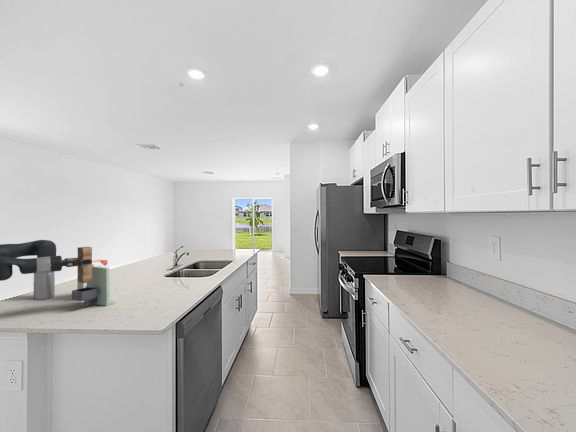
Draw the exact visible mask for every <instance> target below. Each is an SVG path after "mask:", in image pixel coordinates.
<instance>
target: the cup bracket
mask: <svg viewBox="0 0 576 432" xmlns="http://www.w3.org/2000/svg"><path fill="white" fill-rule="evenodd" d="M71 300H74V301H77V302H84V306H85V307H86V306H90V305H93V304H94V305H97V306H98V305H99V306H103V307H109V306H112V305H115V304H117V303H116V300H110V267H107V268H104V267H96V266H92V282H87V287H85V288H81V289H73V290H71Z"/></svg>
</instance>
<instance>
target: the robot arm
mask: <svg viewBox="0 0 576 432" xmlns="http://www.w3.org/2000/svg"><path fill="white" fill-rule="evenodd" d="M32 256H36V257H32ZM21 257H32V258H21ZM92 261H93V259H92V260H91V259H87V260H78V257H71V258H70V257H66V258H64V259H63V257H62V256H61V255H57V245H56V243H55V242H54V241H52V240H48V239H38V240H33V241H28V242H22V243H21V242H20V243H1V244H0V281H1V282H2V281H7V280H9V279H11V278H12V276H13V273H14V272H13V266H17V267H18V269H19V272H20V274H21V275H22V274H23V275H28V274H33V299H34V300H36V301H38V300H40V301H41V300H47V299H52V298H54V297H55V296H56V295H55V293H56V292H55V291H56V289H55V287H56V286H55V282H56V281H55V280H56V279H55V278H56V277H55V272H60V271H62V269H63V267H66V268H71V267H78V266H81V265H83V264H91V263H92ZM78 262H79V264H78Z"/></svg>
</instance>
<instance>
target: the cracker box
mask: <svg viewBox="0 0 576 432" xmlns="http://www.w3.org/2000/svg"><path fill="white" fill-rule="evenodd" d="M92 266H96V267H104V268H108V259H107V260H106V259H97V260H92ZM76 278H77V285H76V286H77V289H81V288H85V287H87V283H78V274H77V277H76ZM77 289H76V290H77Z"/></svg>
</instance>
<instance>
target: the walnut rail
mask: <svg viewBox="0 0 576 432" xmlns="http://www.w3.org/2000/svg"><path fill="white" fill-rule="evenodd" d="M77 258H78V260H87V259H91V260H92V261H93V247H91V246H80V247H77ZM78 264H79V262H78ZM77 275H78V283H87V282H92V263H91V264H83V265H81V266H77Z"/></svg>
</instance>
